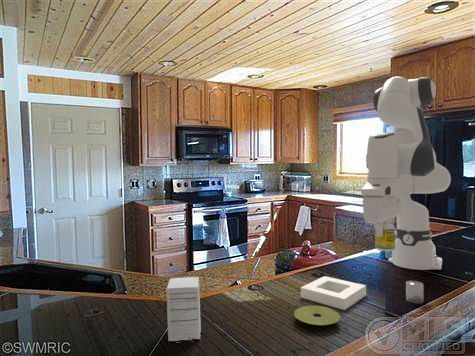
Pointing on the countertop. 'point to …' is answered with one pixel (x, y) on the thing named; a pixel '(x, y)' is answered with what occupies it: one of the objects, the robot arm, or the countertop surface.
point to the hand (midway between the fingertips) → (384, 234)
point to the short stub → (414, 292)
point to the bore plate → (341, 300)
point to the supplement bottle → (386, 237)
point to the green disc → (317, 315)
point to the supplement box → (183, 309)
